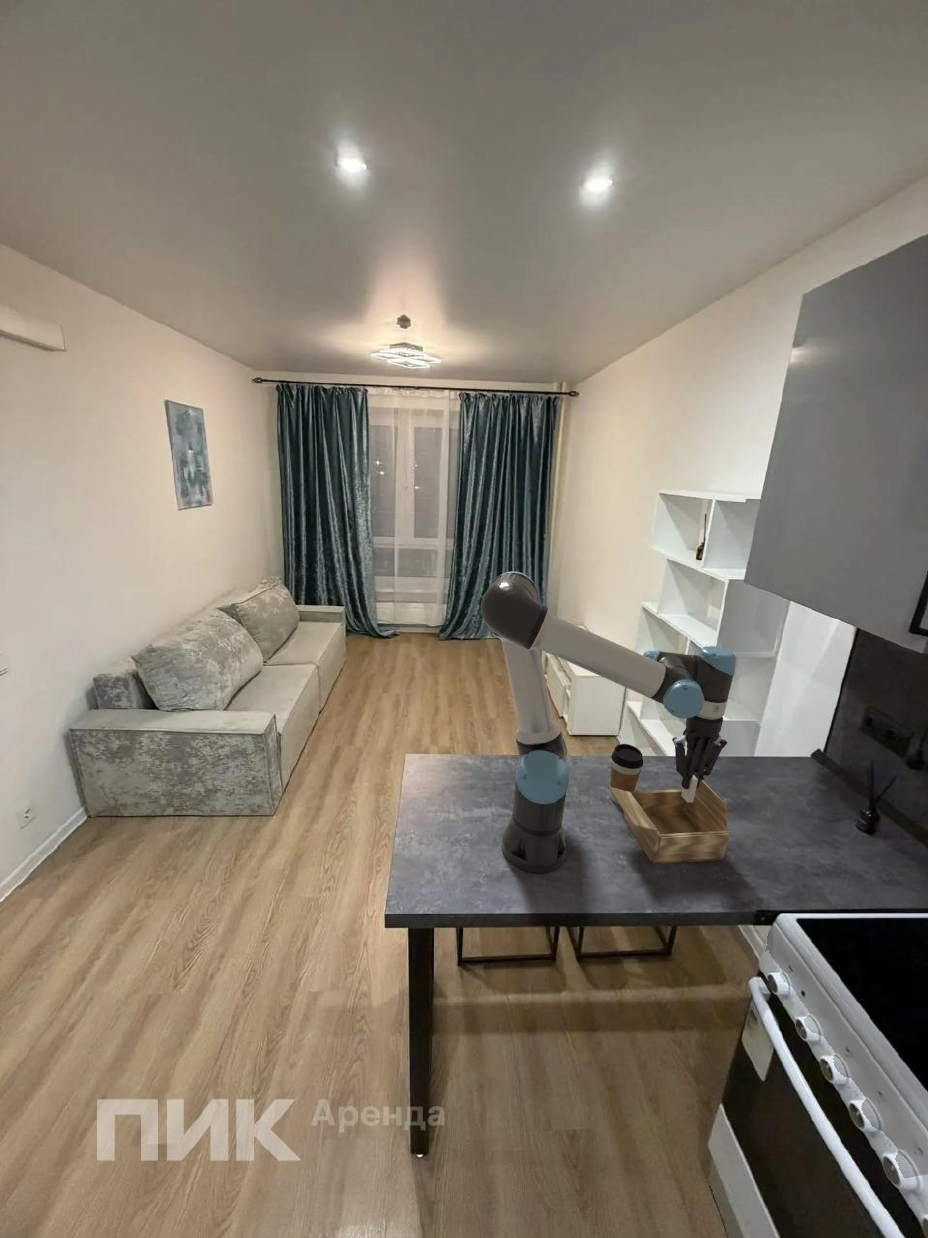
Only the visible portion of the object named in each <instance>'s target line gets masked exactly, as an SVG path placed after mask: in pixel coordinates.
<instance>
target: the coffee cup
mask: <svg viewBox="0 0 928 1238" xmlns="http://www.w3.org/2000/svg"><path fill="white" fill-rule="evenodd" d="M610 758H611V759H612V760H611V761H612V762H611V765H610V767H611V768H610V783H609V786H610V787H613V788H617V789H620V790H624V791H627V792H630V791H636V786H637V783H638V781H639V777H640V774H641V768H642V767H643V766H644V759H643V753H642V752H641V750H640V749H639V748H637V747H636V746H635V745H632V744H628V743H620V744H617V745H616V746H615V747H614V750H613V752H612V753H611V756H610ZM609 798H610V800H611V801H612V802H613V803H615V804H617V805H619V803H618V802H617V800H616V799H615V797H614V796H613V794H612V792H611V791H610V790H609Z"/></svg>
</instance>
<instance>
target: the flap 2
mask: <svg viewBox="0 0 928 1238" xmlns="http://www.w3.org/2000/svg"><path fill="white" fill-rule="evenodd" d="M695 794H696V795H697V797H698V798H699V799H700V800H701V801H702V802H703V803H704V804H705V805H706V806H707V808H708V809H709V810H710V811H711V812H712V813H713V814H714V815H715V816H716V817H717V818H718V820H719V821H720V822H721V823H722V824H723V825H724V826H725V827H726V828H728V806H727V805H728V804H727V803H726V802H725V801H724V800H723V799H722V797H720V796H719V795H718V794H717V793H716V792H715V791H714V790H713V789H712V788H711V787H710V786H709V785H708V784H707V783H706V782H705V781H704V780H702V781H701V780H700V784H699V787H698V789H696V791H695Z"/></svg>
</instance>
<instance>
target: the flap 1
mask: <svg viewBox="0 0 928 1238" xmlns="http://www.w3.org/2000/svg"><path fill="white" fill-rule="evenodd" d="M608 790H609V792H610V791H611V792H612V794H613V796H614V797H615V799H616V800H617V802H618V803H619V804H618V805H619V806H620V808H621V809H622V810H623V813H624V812H625V814H626V815H627V817H628V818H629V820H630V821H631V823H632V824H633V826H636V827H640V828H644V829H648V830H652V831H655V832H657V831H658V830H657V829H656V827H655V826H654V824H653V823H652V822H651V820H650V819H649V817H648V816H647V815H646V813H645V812H644V811H643V809H642V808H641V806H640V805H639V804H638V802H637V801H636V799H635V798H634V797H633V795H632V794H631V793H630V792H627V791H624V790H620V789H617V788H613V787H610V785H609V786H608Z"/></svg>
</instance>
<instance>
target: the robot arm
mask: <svg viewBox="0 0 928 1238" xmlns="http://www.w3.org/2000/svg"><path fill="white" fill-rule="evenodd" d="M538 599H539V592H538V587H537V586H536V584H535V582H534V580H533V579H532V578H531V577H529V576H528V575H527V574H525V573H523V572H520V571H505V572H504V573H501V574H499V575H498V576H496V577H495V578H494V579H493V580H492V581H491V583H490V584H489V585H488V588H487V590H486V591H485V592H484V594H483V596H482V599H481V603H480V613H481V618H482V620H483V622H484V623H485V624H486V626H487V627H488V628H489V629H490V630H491V631H492V633H493V636H494V637H496V638H497V639H499V640H500V642H501V645H502V650H503V655H504V659H505V660H504V661H505V664H506V670H507V674H508V680H509V684H510V689H511V694H512V698H513V704H514V708H515V713H516V718H517V723H518V728H517V729H516V730H515V732H514V737H515V742H516V743H515V744H516V747H517V752H518V763H517V765H516V769H515V782H514V783H515V785H514V795H513V804H512V811H511V812H512V814H511V817H510V819H509V821H508V823H507V825H506V827H505V829H504V831H503V833H502V837H501V838H502V840H501V849H502V853H503V855H504V857H505V858H506V859H507V860H508V861H509V862H510V863H511V865H513V866H515V867H516V868H518V869H519V870H522V871H524V872H525V871H526V872H527V873H534V874H546V873H551V872H553V871H556V870H557V869H559V868H560V867H561V866H562V865H563V863H564V862H565V860H566V854H567V853H566V852H567V842H566V839H565V835H564V830H563V819H564V812H565V807H566V806H565V805H566V804H565V803H566V797H567V790H568V787H569V784H570V778H569V777H570V775H569V769H568V765H567V754H568V750H567V745H566V742H565V738H564V737H563V734H562V728H561V726H560V724H559V723H558V722H557V721H554V718H553V713H552V708H551V702H550V697H549V692H548V688H547V687H548V686H547V680H546V677H545V671H544V667H543V666H544V665H543V661H542V656H541V651H543V652H546V653H548V654H550V655H552V656H555V657H557V658H558V659H561V660H564V661H566V662H568V663H570V664H572V665H575V666H577V667H579V668H582V669H584V670H586V671H588V672H590V673H592V674H595V675H597V676H599V677H601V678H604V679H606V680H608V681H611V682H613V683H615V684H617V685H620V686H621V687H623V688H625V689H628V690H631V691H633V692H635V693H637V694H640V695H642V696H644V697H646V698H648V699H651V700H653V701H654V702H657V703H659V704H661V705H663V707H664V708H665V710H667V712H668V713H669V714H671V715H672V716H673V717H675V718H677V719H683V720H684V719H685V729H684V730H683V731H682V735H681V736H679V737H676V736H675V737H673V738H672V739H671V741H672V743H673V745H674V752H675V753H674V754H675V770H676V772H677V773H678V774H679V775H680V776H681V777H682V780H681V787H682V789H683V790H682V795H681V796H682V797H683V798H684V799H685V800H686V802H687V803H690V802H693V800H694V796H695V791H696V789H698V787H699V784H700V780H701V781H702V780H703V781H704V780H705V777H704V776H706V777H708V776H710V774H711V773H712V771H713V768H714V767H715V765H716V763H717V760H718V758H719V756H720V754H721V753H722V750H723V749H724V748H725V747H726V746H727V745H728V741H727V740H726V739H724V737H722V736H721V735H720V733H721V730H722V727H723V723H724V716H725V713H726V709H727V706H728V705H727V704H728V699H729V695H730V691H731V687H732V682H733V679H734V676H735V671H736V667H737V665H736V664H737V663H736V662H737V655H735V654H734V652H733V651H731V650H730V649H727V648H724V647H720V646H714V645H713V646H712V645H710V646H708V645H707V646H706V645H705V646H702V647H701V649H700V651H699V653H698V654H685V653H676V652H668V651H662V650H646V651H645V652H643V654H641V653H639V652H636V651H634V650H631V649H629V648H627V647H626V646H623V645H621V644H618V643H616V642H614V641H612V640H609V639H607V638H605V637H603V636H601V635H598V634H596V633H594V632H591V631H590V630H587V629H584V628H582V627H581V626H578V625H575V624H573V623H571V622H569V621H567V620H565V619H562V618H560V617H558V616H555V615H553V614H552V612H551V609H550V608H549V607H547V606H545V605H542V604H540V603H539V602H538Z"/></svg>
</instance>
